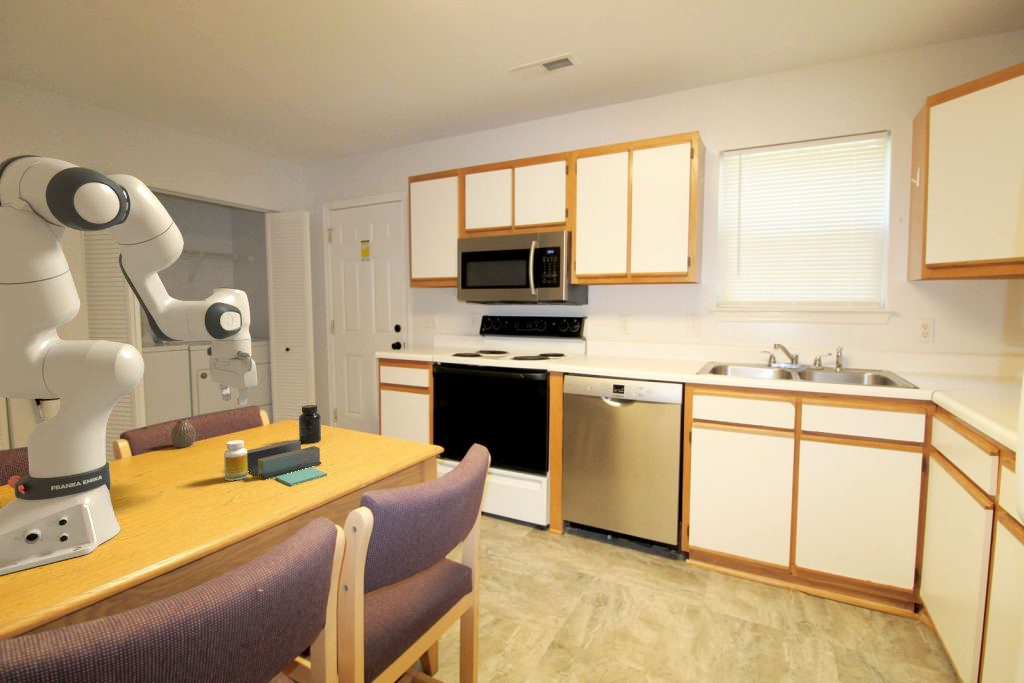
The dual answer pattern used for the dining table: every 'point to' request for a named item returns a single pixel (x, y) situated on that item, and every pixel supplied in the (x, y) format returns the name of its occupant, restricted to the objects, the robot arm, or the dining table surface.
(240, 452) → the supplement bottle
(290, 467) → the slot housing
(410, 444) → the dining table surface
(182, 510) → the dining table surface
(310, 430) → the supplement bottle
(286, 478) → the teal mat
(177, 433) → the vase
